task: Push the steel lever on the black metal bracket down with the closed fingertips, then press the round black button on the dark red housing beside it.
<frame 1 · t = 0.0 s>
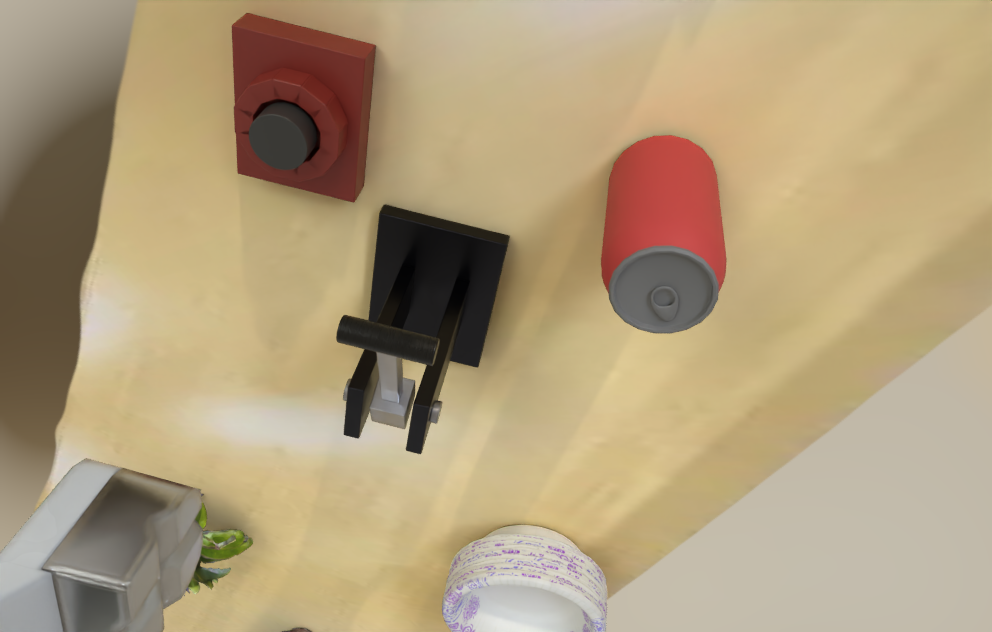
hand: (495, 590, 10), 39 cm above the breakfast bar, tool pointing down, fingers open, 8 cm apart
button box: (309, 105, 50), on the breakfast bar
beer can: (662, 177, 49), on the breakfast bar
lever: (391, 375, 44), point 14 cm above the breakfast bar, hinge at 25.0°
bracket: (435, 286, 57), on the breakfast bar
paper bowls: (532, 550, 77), on the breakfast bar
passion flower: (197, 510, 82), on the breakfast bar
button: (283, 136, 46), point 4 cm above the breakfast bar, slide at 0.1 cm
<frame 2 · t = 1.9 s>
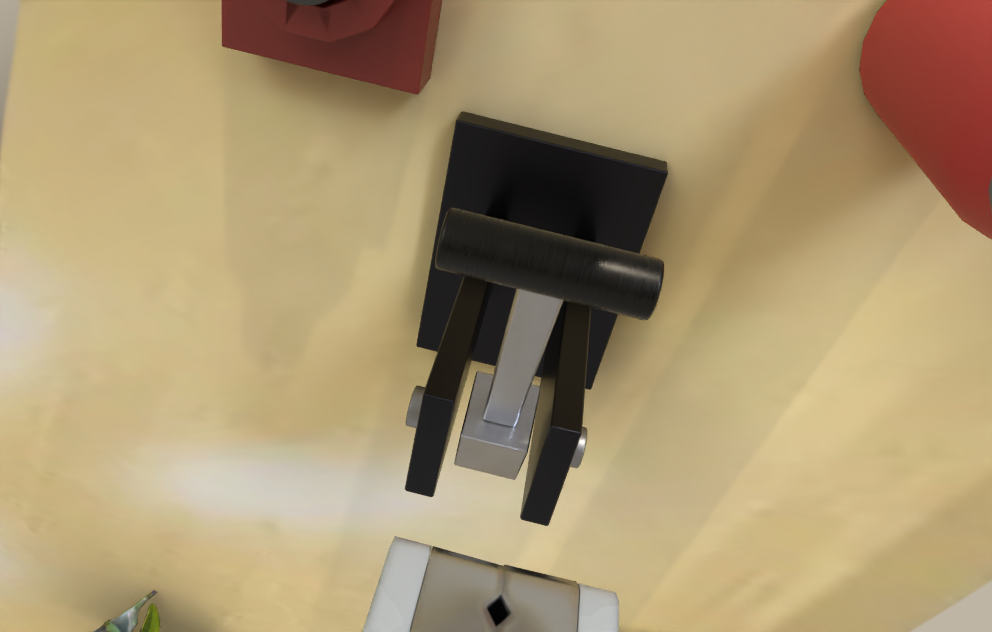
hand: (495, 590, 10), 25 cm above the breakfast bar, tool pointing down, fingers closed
beer can: (948, 42, 29), on the breakfast bar
lever: (515, 366, 22), point 14 cm above the breakfast bar, hinge at 25.0°
bracket: (532, 255, 36), on the breakfast bar
passion flower: (148, 614, 58), on the breakfast bar
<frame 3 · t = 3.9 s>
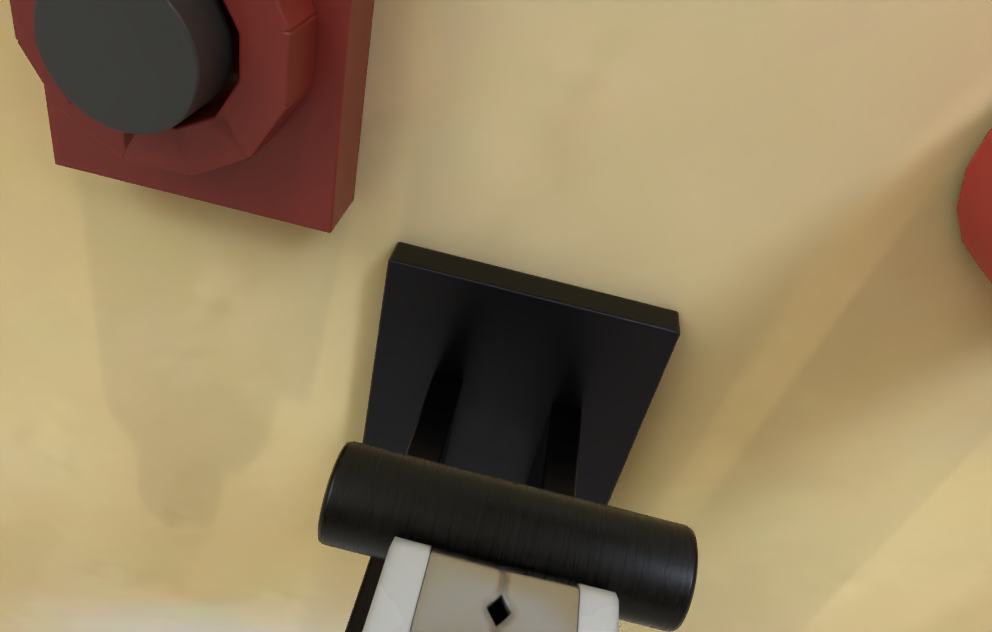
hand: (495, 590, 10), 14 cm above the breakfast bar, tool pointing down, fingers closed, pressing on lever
bracket: (499, 415, 27), on the breakfast bar
button: (137, 42, 17), point 4 cm above the breakfast bar, slide at 0.1 cm
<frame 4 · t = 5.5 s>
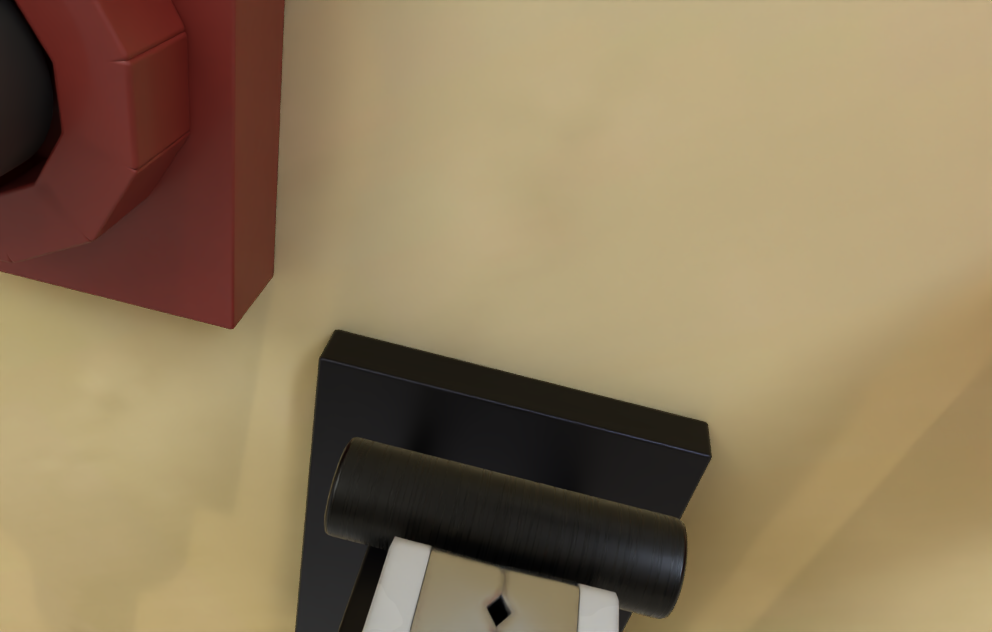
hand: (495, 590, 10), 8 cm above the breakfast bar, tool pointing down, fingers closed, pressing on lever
button box: (79, 6, 15), on the breakfast bar
bracket: (474, 537, 21), on the breakfast bar
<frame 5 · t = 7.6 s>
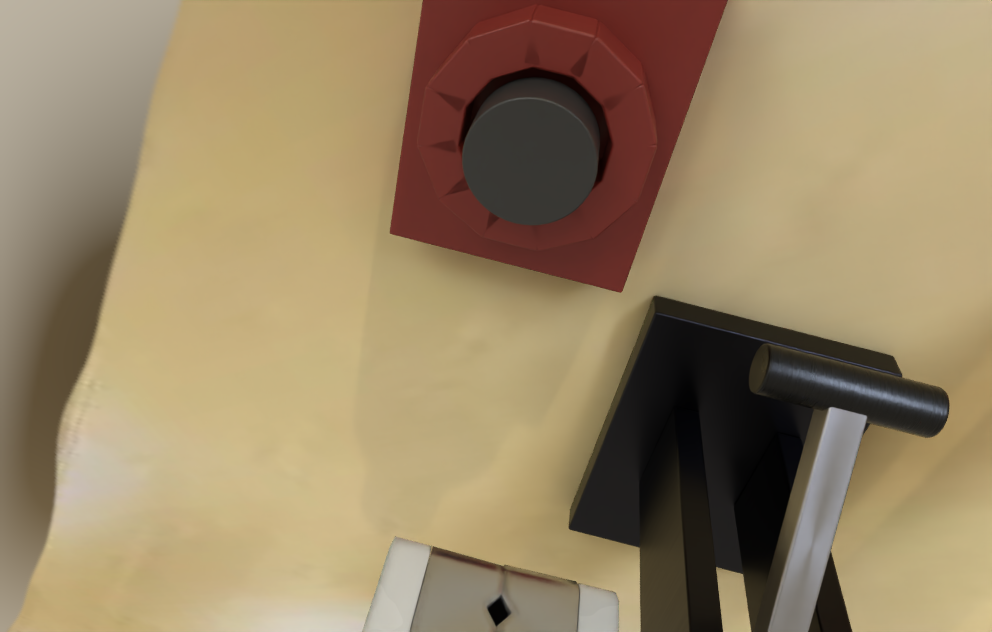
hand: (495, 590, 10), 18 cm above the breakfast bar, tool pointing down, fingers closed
button box: (547, 99, 25), on the breakfast bar
lever: (795, 575, 21), point 9 cm above the breakfast bar, hinge at -32.7°
bracket: (714, 440, 31), on the breakfast bar
button: (532, 152, 21), point 4 cm above the breakfast bar, slide at 0.1 cm
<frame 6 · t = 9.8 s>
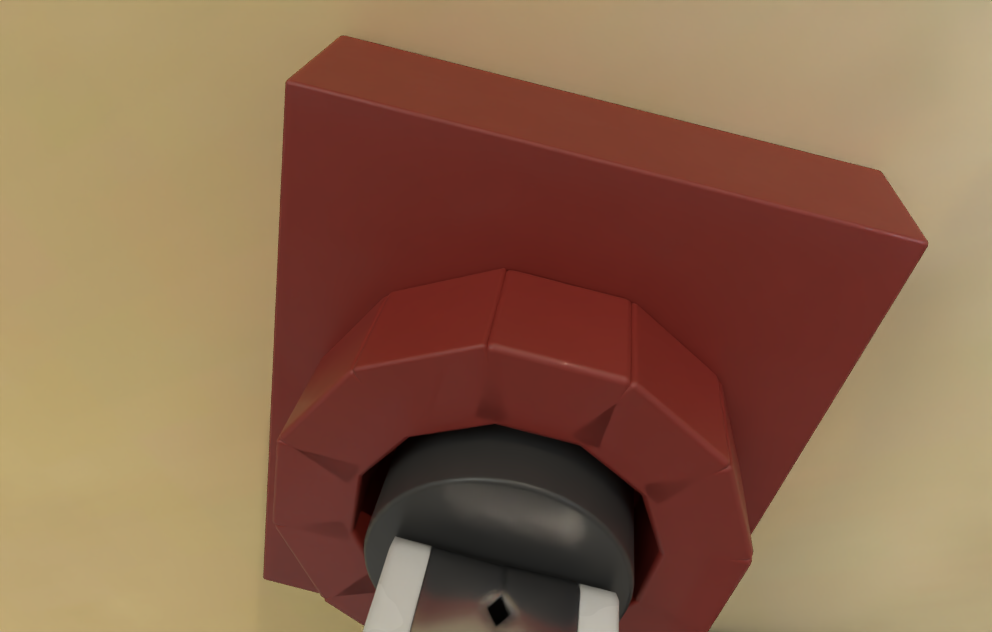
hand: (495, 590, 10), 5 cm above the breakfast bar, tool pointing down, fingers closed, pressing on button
button box: (532, 366, 14), on the breakfast bar
button: (504, 526, 11), point 4 cm above the breakfast bar, slide at -0.7 cm, touching gripper
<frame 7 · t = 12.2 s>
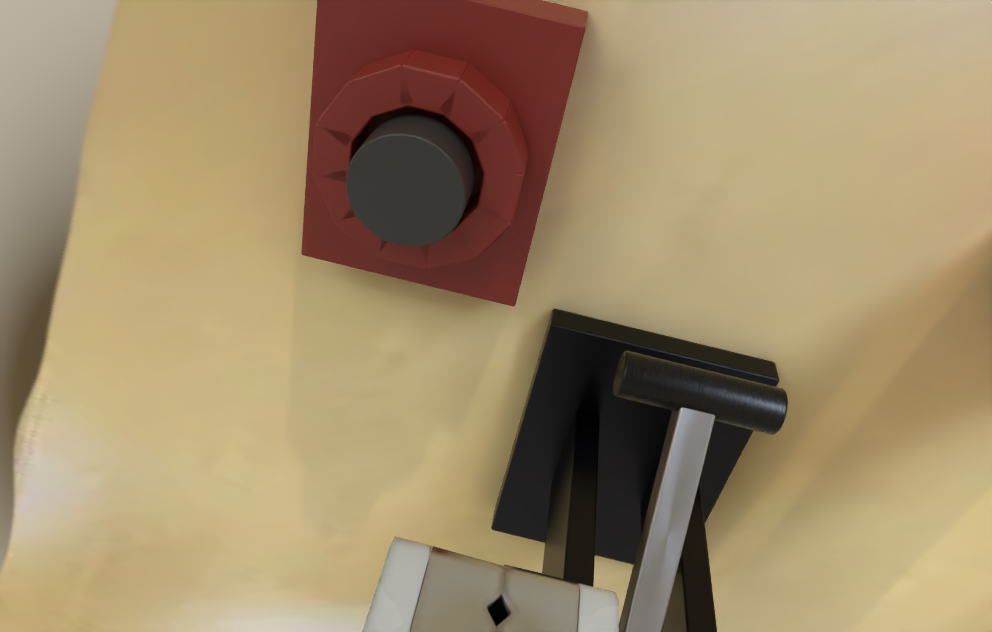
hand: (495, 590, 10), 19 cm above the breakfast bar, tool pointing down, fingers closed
button box: (440, 131, 27), on the breakfast bar
lever: (656, 561, 24), point 9 cm above the breakfast bar, hinge at -32.7°
bracket: (620, 443, 34), on the breakfast bar
button: (411, 181, 23), point 4 cm above the breakfast bar, slide at 0.1 cm
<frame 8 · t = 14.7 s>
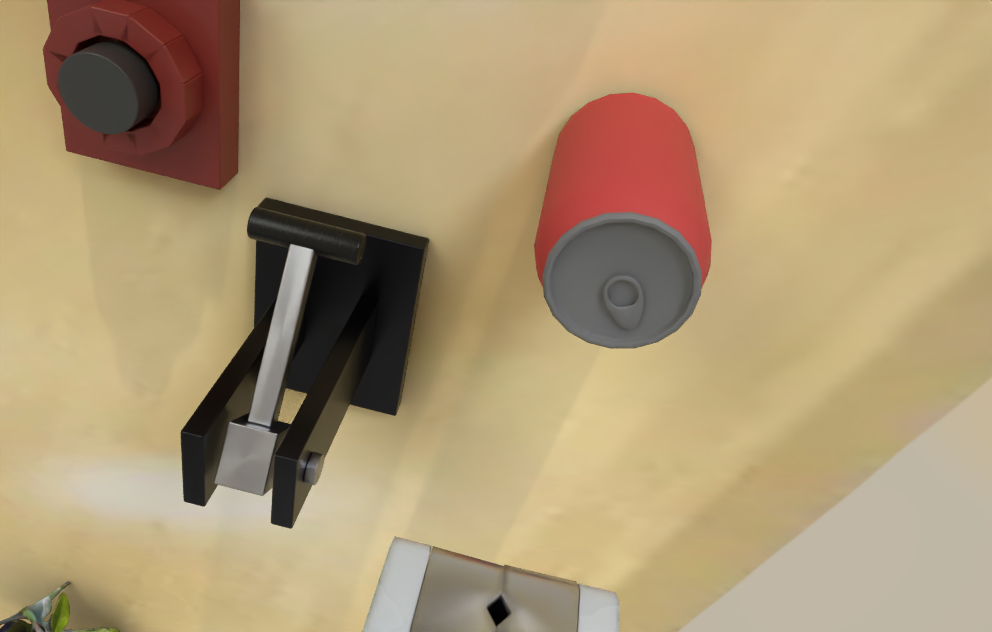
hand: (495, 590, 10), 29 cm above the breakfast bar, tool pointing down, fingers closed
button box: (160, 60, 38), on the breakfast bar
beer can: (623, 155, 37), on the breakfast bar
lever: (279, 352, 34), point 9 cm above the breakfast bar, hinge at -32.7°
bracket: (338, 308, 44), on the breakfast bar
passion flower: (65, 602, 66), on the breakfast bar
button: (109, 88, 34), point 4 cm above the breakfast bar, slide at 0.1 cm
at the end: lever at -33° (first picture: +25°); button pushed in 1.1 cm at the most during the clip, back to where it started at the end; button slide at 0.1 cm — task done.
